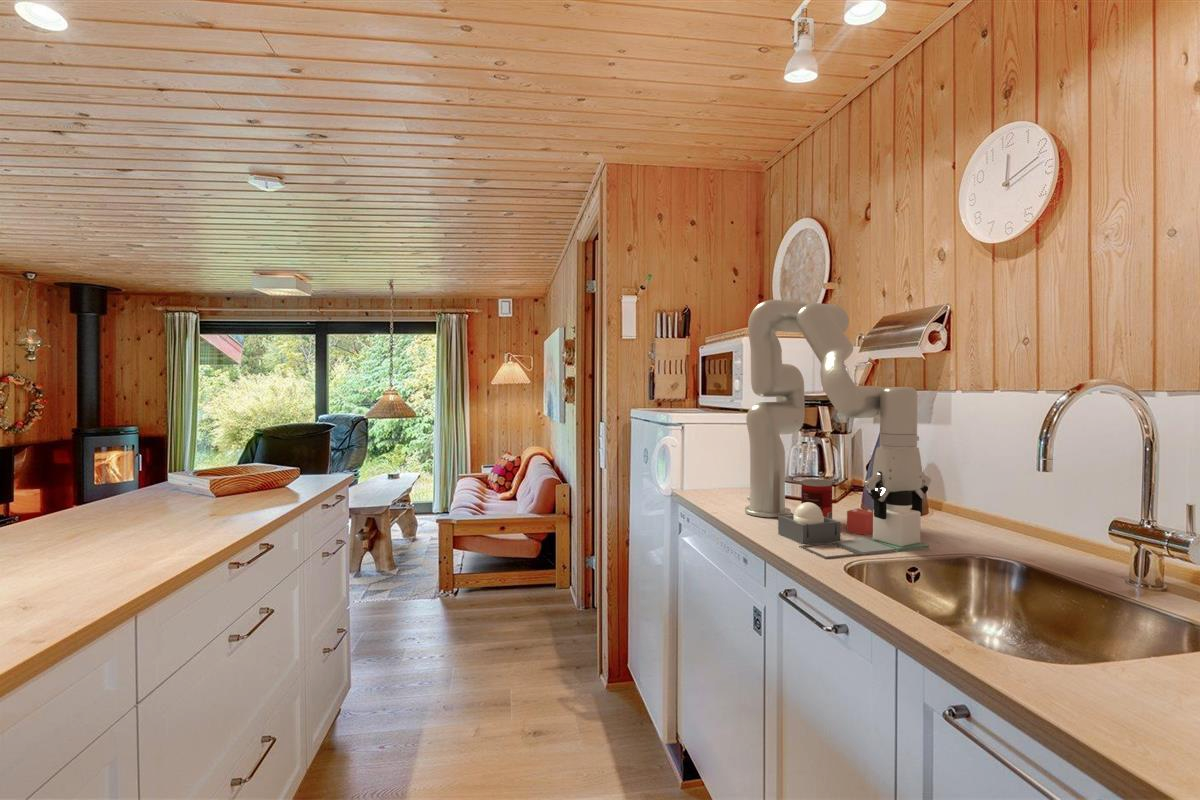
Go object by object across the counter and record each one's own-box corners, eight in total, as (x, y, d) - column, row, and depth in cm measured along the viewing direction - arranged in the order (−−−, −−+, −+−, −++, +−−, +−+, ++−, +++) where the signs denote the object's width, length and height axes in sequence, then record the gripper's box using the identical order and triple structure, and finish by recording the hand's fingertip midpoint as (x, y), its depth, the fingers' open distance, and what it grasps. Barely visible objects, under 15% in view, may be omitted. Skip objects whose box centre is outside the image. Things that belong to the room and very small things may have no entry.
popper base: (778, 533, 140) (778, 515, 140) (813, 530, 143) (813, 512, 143) (803, 544, 131) (803, 525, 131) (840, 541, 133) (840, 522, 133)
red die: (847, 531, 143) (847, 508, 142) (858, 527, 146) (858, 506, 145) (866, 535, 139) (866, 512, 138) (877, 531, 141) (877, 509, 141)
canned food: (827, 519, 155) (827, 479, 155) (836, 526, 147) (836, 484, 147) (798, 519, 156) (798, 478, 155) (805, 526, 148) (805, 483, 147)
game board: (799, 547, 129) (799, 544, 129) (897, 537, 136) (897, 535, 136) (825, 558, 120) (825, 556, 120) (929, 548, 127) (929, 545, 127)
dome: (787, 526, 139) (787, 500, 139) (812, 524, 141) (812, 499, 141) (804, 533, 133) (804, 506, 132) (830, 531, 134) (830, 504, 134)
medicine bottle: (920, 542, 129) (921, 489, 129) (901, 547, 126) (902, 492, 125) (891, 535, 135) (891, 485, 135) (872, 539, 132) (872, 487, 132)
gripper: (916, 438, 136) (915, 510, 136) (854, 441, 131) (854, 515, 132) (942, 441, 128) (942, 517, 129) (878, 444, 124) (878, 523, 124)
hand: (897, 516), depth 130 cm, fingers open, 9 cm apart
